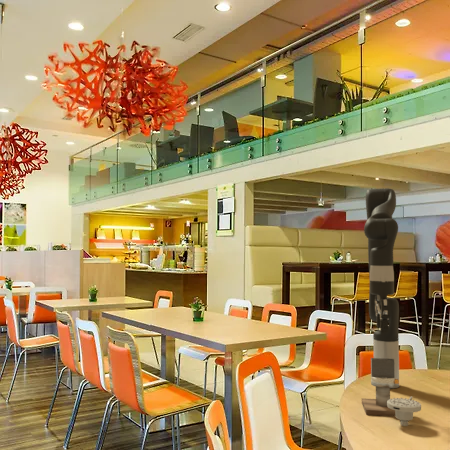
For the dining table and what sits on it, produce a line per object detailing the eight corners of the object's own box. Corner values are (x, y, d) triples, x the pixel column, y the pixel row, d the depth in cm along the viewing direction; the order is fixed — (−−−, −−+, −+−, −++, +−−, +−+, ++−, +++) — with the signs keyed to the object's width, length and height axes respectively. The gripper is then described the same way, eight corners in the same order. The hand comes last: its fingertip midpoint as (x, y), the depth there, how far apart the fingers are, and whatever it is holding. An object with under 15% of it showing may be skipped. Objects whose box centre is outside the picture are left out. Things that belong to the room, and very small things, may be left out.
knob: (369, 381, 166) (369, 356, 167) (396, 382, 165) (395, 357, 165) (372, 387, 159) (372, 360, 160) (400, 388, 158) (400, 361, 158)
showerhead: (427, 399, 148) (412, 406, 141) (428, 424, 147) (412, 432, 140) (397, 392, 154) (381, 399, 147) (397, 417, 154) (381, 424, 147)
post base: (361, 402, 169) (361, 380, 169) (398, 404, 167) (398, 381, 167) (366, 414, 156) (366, 390, 156) (406, 416, 154) (406, 391, 155)
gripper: (367, 278, 172) (367, 326, 171) (372, 280, 158) (373, 332, 157) (390, 278, 171) (390, 327, 170) (397, 280, 157) (398, 333, 156)
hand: (382, 329), depth 163 cm, fingers open, 8 cm apart
